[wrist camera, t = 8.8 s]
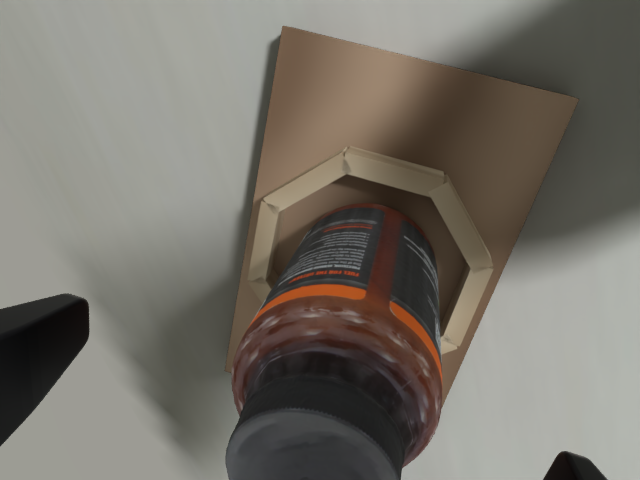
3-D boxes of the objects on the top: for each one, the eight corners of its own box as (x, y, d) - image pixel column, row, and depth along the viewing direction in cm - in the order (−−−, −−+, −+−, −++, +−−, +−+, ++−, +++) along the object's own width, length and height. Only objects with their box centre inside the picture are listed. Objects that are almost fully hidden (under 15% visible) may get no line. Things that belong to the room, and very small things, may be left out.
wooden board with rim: (571, 96, 17) (589, 102, 15) (427, 425, 24) (427, 458, 22) (289, 26, 18) (272, 24, 16) (232, 359, 25) (215, 385, 23)
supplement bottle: (275, 252, 21) (131, 445, 11) (374, 169, 19) (307, 316, 8) (362, 343, 22) (303, 601, 12) (467, 275, 19) (509, 526, 9)
